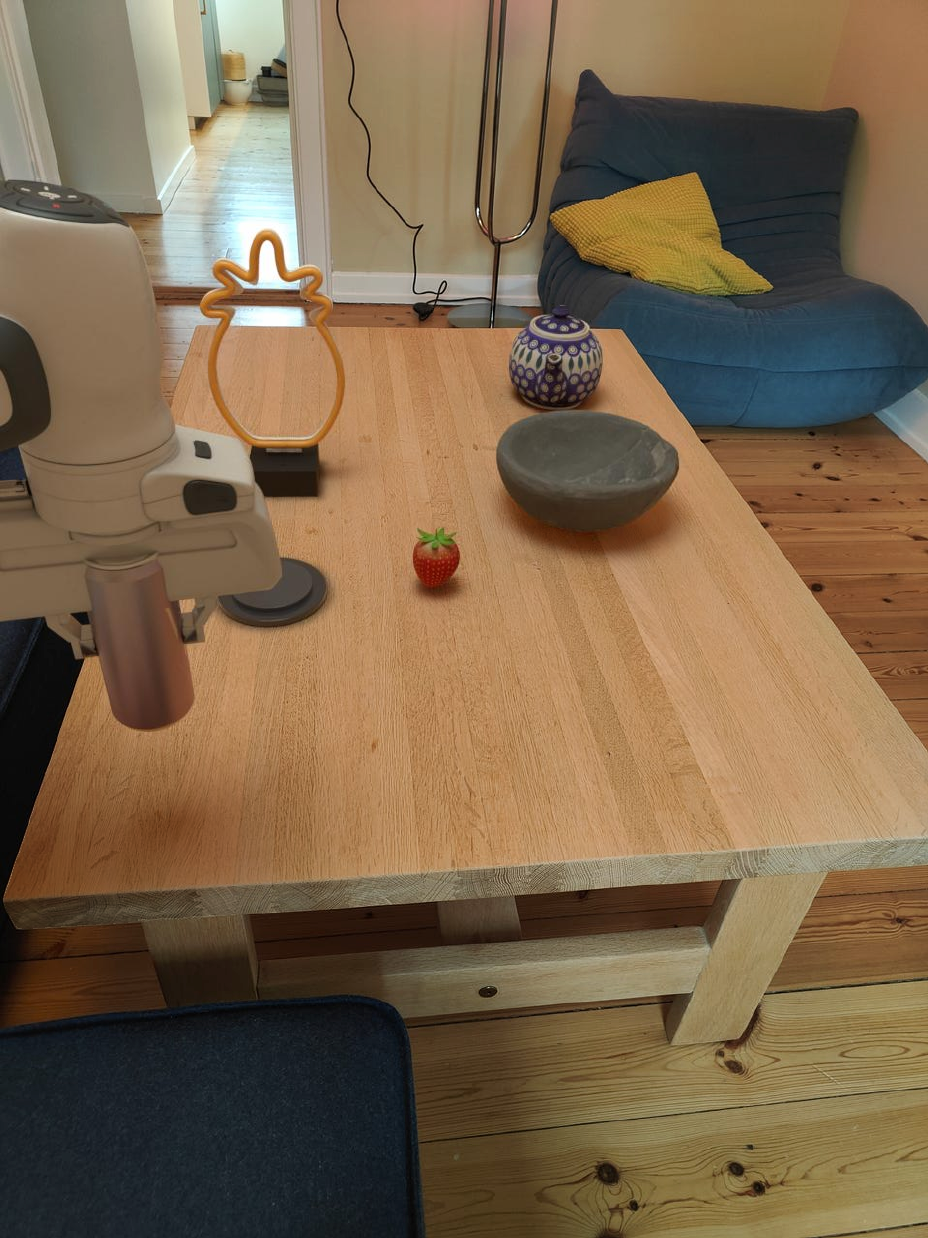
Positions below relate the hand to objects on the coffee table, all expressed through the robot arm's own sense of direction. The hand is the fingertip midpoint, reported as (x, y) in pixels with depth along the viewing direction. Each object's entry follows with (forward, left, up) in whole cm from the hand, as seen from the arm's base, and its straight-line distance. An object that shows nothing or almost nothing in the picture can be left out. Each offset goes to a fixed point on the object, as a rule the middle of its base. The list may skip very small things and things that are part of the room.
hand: (142, 645), depth 61 cm
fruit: (+29, +25, -18) cm, 43 cm away
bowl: (+52, +37, -18) cm, 67 cm away
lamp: (+16, +53, -18) cm, 58 cm away
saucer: (+11, +28, -18) cm, 35 cm away
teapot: (+62, +71, -18) cm, 96 cm away
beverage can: (0, 0, -6) cm, 6 cm away
